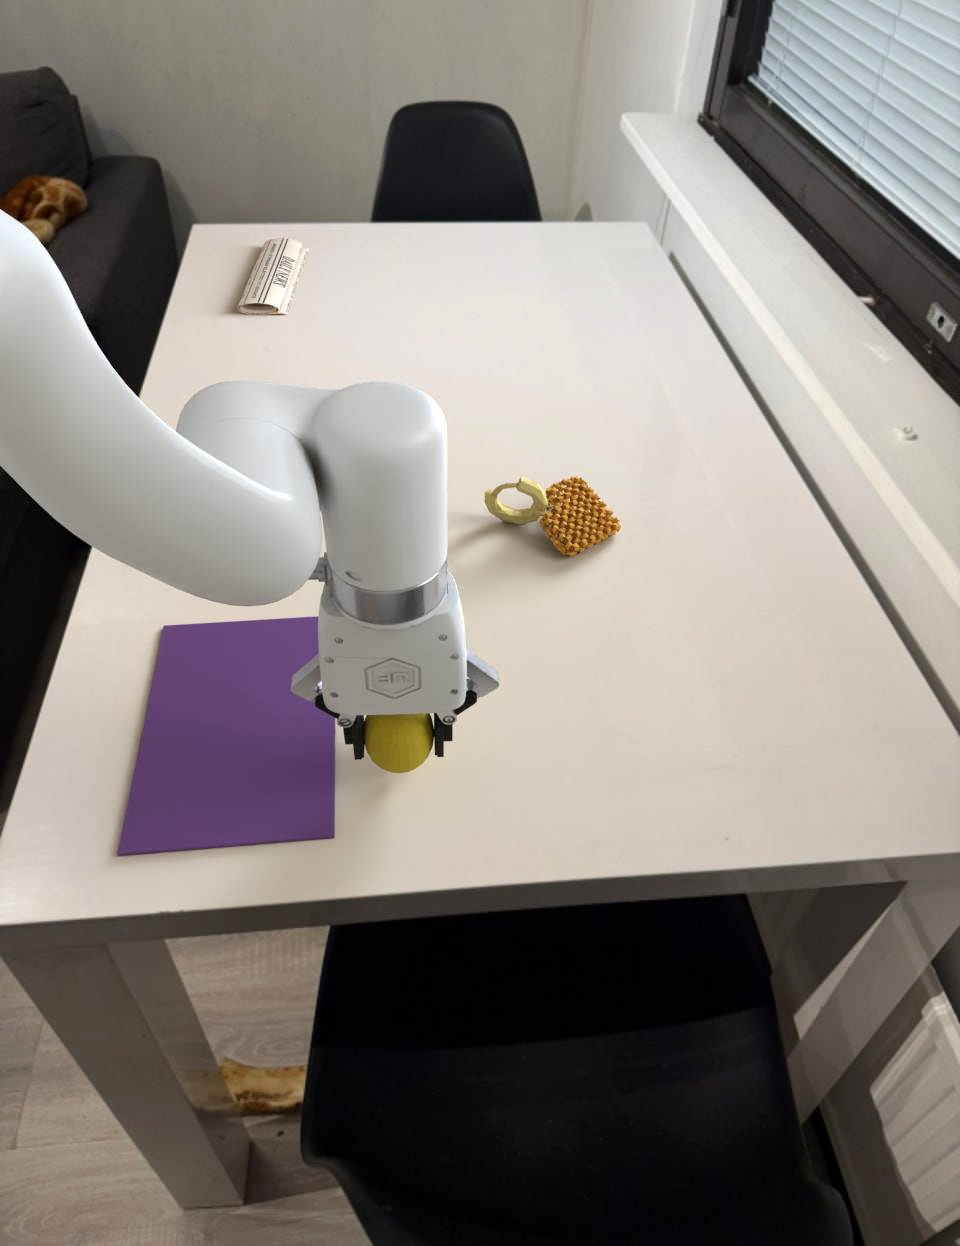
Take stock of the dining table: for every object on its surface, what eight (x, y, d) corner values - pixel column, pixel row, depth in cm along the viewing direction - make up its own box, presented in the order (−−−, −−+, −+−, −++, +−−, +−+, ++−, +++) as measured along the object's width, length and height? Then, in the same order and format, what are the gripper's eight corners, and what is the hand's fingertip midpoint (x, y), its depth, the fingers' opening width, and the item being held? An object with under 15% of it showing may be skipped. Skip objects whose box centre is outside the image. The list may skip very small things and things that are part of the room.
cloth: (334, 838, 66) (334, 836, 66) (118, 856, 65) (117, 854, 64) (336, 617, 83) (335, 615, 83) (164, 627, 81) (163, 625, 81)
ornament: (634, 470, 92) (499, 434, 91) (628, 548, 87) (484, 511, 85) (613, 509, 98) (485, 475, 96) (606, 584, 92) (470, 549, 91)
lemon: (433, 793, 68) (431, 730, 63) (363, 791, 68) (355, 728, 63) (436, 737, 72) (435, 673, 67) (370, 735, 72) (363, 671, 67)
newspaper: (266, 248, 143) (264, 237, 141) (309, 249, 143) (307, 238, 142) (238, 314, 126) (236, 302, 125) (287, 315, 126) (285, 303, 125)
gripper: (245, 618, 52) (285, 787, 65) (527, 611, 53) (511, 779, 66) (260, 538, 58) (294, 709, 71) (516, 534, 59) (504, 704, 72)
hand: (399, 742), depth 68 cm, fingers closed on lemon, 5 cm apart
